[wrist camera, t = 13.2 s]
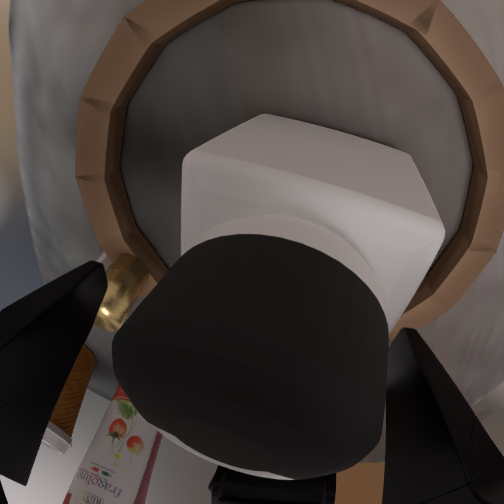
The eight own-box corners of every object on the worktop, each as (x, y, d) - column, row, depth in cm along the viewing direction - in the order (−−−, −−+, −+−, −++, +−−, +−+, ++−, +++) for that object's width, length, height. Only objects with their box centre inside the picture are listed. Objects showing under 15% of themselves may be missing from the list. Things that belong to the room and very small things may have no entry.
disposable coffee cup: (29, 320, 29) (-20, 396, 20) (72, 318, 26) (13, 416, 17) (75, 370, 34) (38, 443, 24) (123, 376, 31) (84, 465, 21)
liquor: (176, 371, 28) (94, 624, 5) (188, 403, 32) (125, 612, 9) (112, 354, 28) (20, 580, 6) (131, 389, 33) (60, 581, 10)
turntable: (504, 285, 16) (535, 347, 11) (219, 362, 25) (202, 419, 20) (403, -85, 5) (442, -133, 1) (36, 119, 14) (-30, 154, 10)
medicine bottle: (260, 110, 13) (24, 255, 4) (413, 153, 12) (502, 419, 2) (242, 237, 17) (115, 428, 8) (365, 276, 16) (327, 507, 7)
